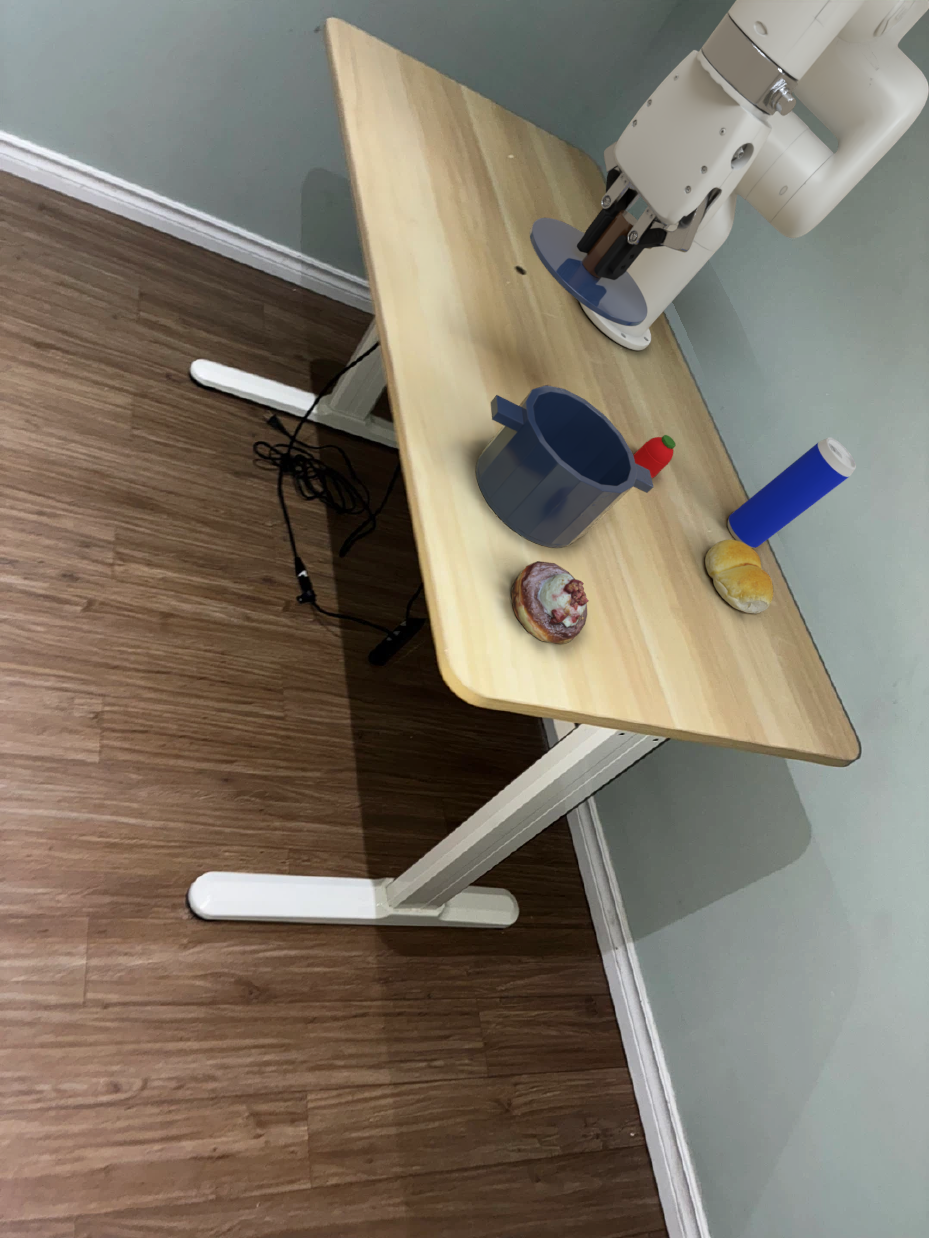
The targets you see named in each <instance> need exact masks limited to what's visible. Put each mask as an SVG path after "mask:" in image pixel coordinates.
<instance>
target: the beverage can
mask: <svg viewBox="0 0 929 1238" xmlns="http://www.w3.org/2000/svg"><path fill="white" fill-rule="evenodd" d="M856 469H857V463H856V461H855V459H854V456H853V455H852V454H851V453H850V451H849V450H848V449H847V447H845V446H844V445H843V444H842V443H841V442H840V441H839V440H837V439H835V438H833V437H827V438H824V439H822V440H820V441H817V443H816V444H814V445H813V446H812V447H811V448H809V449H808V450H807V451H806V452H804V453H803V454H802V455H801V456H800V457H798V458H797V459H796V460H795V461H794V462H793V463H791V464H790V465H789V466H788V467H786V468H785V469H784V470H783V471H781V472H780V473H779V474H778V475H777V476H776V477H774V478H773V479H772V480H770V481H769V482H768V483H767V484H765V486H763V487H762V488H761V489H760V490H758V491H757V492H756V493H755V494H753V495H752V496H751V497H750V498H749V499H747V500H746V501H745V502H744V503H743V504H741V505H740V506H739V507H738V508H737V509H735V510H734V511H733V512H732V513H730V515H729V516H728V519H727V529H728V531H729V533H730V534H731V536H732V537H733V538H734V540H737V541H740V542H743V543H745V544H746V545H748V546H750V547H751V548H752V549H754V548H758V547H760V546H761V545H763V543H765V542H767V540H769V539H770V538H771V537H772V536H774V535H775V534H777V533H778V532H779V531H781V530H782V529H783V528H784V527H786V526H788V524H790V523H791V522H792V521H794V520H795V519H796V518H798V517H799V516H801V514H803V513H804V512H805V511H807V510H808V509H809V508H811V507H812V506H814V505H815V504H816V503H817V502H819V501H820V500H821V499H822V498H824V497H825V496H827V495H828V494H829V493H831V492H832V491H833V490H834V489H835V488H838V486H840V485H841V484H842V483H844V482H845V481H846V480H848V479H849V478H850V477H851V476H852V474H853V473H854V471H855V470H856Z"/></svg>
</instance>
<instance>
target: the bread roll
mask: <svg viewBox="0 0 929 1238" xmlns="http://www.w3.org/2000/svg"><path fill="white" fill-rule="evenodd" d="M704 564H705V568H706V572H707V574H708V575H709V576H708V577H710V578H711V579H712V580H713V586H714V588H715V590H716V591H717V593H718V594H719V595H720V597H721V598H722V599H723V600H724V601H725V602H726V603H728V604H729V605H730V606H731V607H732V608H733V609H736V610H738V611H741V612H744V613H747V614H759V613H762V612H765V611H766V610H767V609H769V606H770V605H771V603H772V601H773V598H774V585H773V581H772V580H773V579H772V578H771V576H770V575H769V574H768V572H767V571H765V570H764V569H762V562H761V558H760V555H759V554H758V553H757V552H756V551H755V550H754V548H751V547H750V546H748V545H746V544H745V543H743V542H740V541H737V540H736V539H729V538H728V539H724V540H723V539H722V540H720V541H718V542H717V543H715V544H713V545H712V547H711V548H710V549H709V550H708V551H707V553H706V554H705V559H704Z"/></svg>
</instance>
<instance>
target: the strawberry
mask: <svg viewBox="0 0 929 1238" xmlns="http://www.w3.org/2000/svg"><path fill="white" fill-rule="evenodd" d="M675 447H676V442H675V440H674V439H673V438H672V437H671V436H669V435H667V434H664V435H662V436H655V437H652V438H649V440H647V441H646V442H645V443H643V445H642V446H641V447H640V448H639V449H638V450H636V452H635V453H633V456H634V460H635V463H636V464H638V465H640V466H642V467H644V468H646V469H648V470H650V474H651V478H652V479H654V478H655V477H656V476H657V475H658V474H659V473H660V472H661V471H662V470H664V468H666V466H667V465H669V463H670V462H671V461H672V459H673V456H674V448H675Z"/></svg>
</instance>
